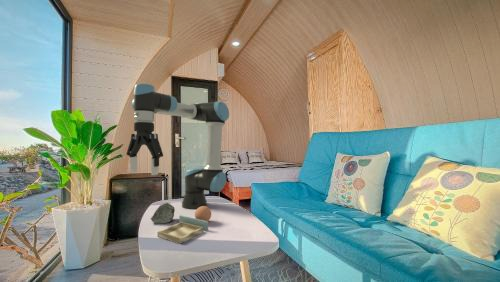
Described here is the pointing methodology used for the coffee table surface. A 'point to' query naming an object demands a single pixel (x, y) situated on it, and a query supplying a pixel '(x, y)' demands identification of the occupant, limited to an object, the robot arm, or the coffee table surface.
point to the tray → (180, 232)
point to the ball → (203, 213)
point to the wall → (194, 222)
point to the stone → (163, 214)
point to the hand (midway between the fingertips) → (143, 173)
